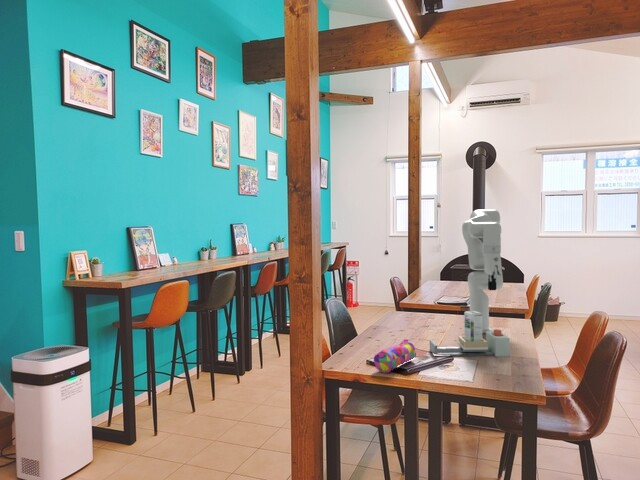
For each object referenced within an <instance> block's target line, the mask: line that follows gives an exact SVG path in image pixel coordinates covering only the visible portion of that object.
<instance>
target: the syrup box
mask: <svg viewBox="0 0 640 480" xmlns="http://www.w3.org/2000/svg"><path fill="white" fill-rule="evenodd" d="M463 316H464V317H463V318H464V336H465V337H464V338H465V339H464V340H465V341H482V338H483V333H482V313H479V312H476V311H470V310H467V311H464V314H463Z"/></svg>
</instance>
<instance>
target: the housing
mask: <svg viewBox="0 0 640 480" xmlns="http://www.w3.org/2000/svg"><path fill="white" fill-rule="evenodd" d="M510 339H511V338H510V337H509V336H507V335H505V334H504V333H502V332H501V336H494V330H492V331H486V333H485V340H486V341H487V346H488V347H490V350H491V351H492V352H494V353H495V356H494V357H510V354H511V352H510V351H511V349H510V347H511V346H510V345H511V343H510Z"/></svg>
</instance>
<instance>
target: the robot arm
mask: <svg viewBox="0 0 640 480" xmlns="http://www.w3.org/2000/svg"><path fill="white" fill-rule="evenodd" d="M469 218H470V219H469V220H466V221H464V222H463V223H462V226H461V232H462V233H461V234H462V236H463V239H464V241H465V243H466V247H467V254H468V264H469V267H470V269H471V270H473V271H472V272H470V273H469V274H468V276H467V284H468V291H469V311H476V312H479V313H482V334H486V331H493V329H492V327H490V318H489V317H490V314H489V313H490V303H489V301H490V300H489V296H488V295H487V293H486V292H485V291H484V290H488V291H497V290H501V289H502V288H503V287H504V286H503V285H504V278H503V277H504V276H503V271H502V256H501V253H502V251H501V249H502V247H501V245H502V237H501V234H502V226H501V224H500V223H501V216H500V212H499V210H497V209H494V208H488V209H485V208H484V209H475V210H473V211H472V212H471V213H470V217H469ZM481 239H482V240H481ZM474 270H475V271H474Z"/></svg>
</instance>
